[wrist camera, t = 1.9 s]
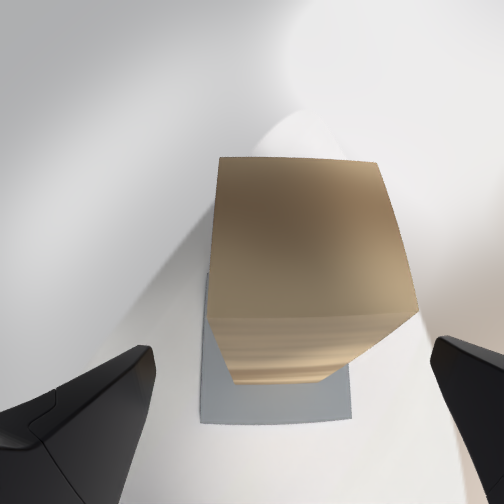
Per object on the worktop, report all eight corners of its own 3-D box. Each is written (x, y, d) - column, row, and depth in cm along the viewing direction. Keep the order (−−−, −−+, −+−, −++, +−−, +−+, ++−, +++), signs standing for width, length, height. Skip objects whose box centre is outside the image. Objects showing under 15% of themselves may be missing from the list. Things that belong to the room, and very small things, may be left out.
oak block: (318, 382, 17) (419, 311, 7) (234, 384, 17) (206, 317, 7) (313, 306, 20) (376, 162, 9) (236, 307, 20) (219, 157, 9)
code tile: (348, 418, 17) (351, 418, 16) (201, 423, 17) (200, 423, 16) (335, 276, 22) (338, 272, 21) (208, 276, 22) (207, 272, 21)
